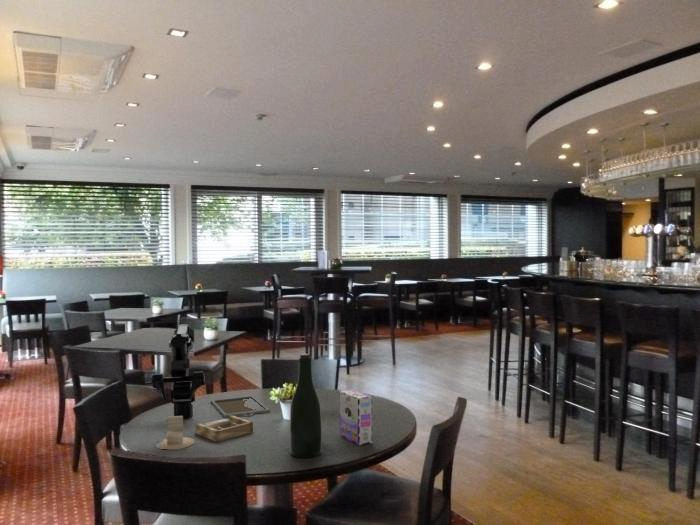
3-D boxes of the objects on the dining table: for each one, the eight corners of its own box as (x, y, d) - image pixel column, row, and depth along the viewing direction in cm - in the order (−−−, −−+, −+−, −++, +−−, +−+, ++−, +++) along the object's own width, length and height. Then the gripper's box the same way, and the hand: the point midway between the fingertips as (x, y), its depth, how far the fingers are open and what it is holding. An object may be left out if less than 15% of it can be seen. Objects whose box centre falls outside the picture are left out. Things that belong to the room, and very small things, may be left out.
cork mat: (148, 449, 195) (148, 448, 195) (165, 437, 208) (165, 436, 208) (185, 450, 194) (185, 449, 194) (199, 438, 207) (199, 437, 207)
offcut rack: (195, 433, 213) (195, 423, 213) (231, 424, 224) (231, 415, 224) (216, 441, 203) (216, 431, 203) (252, 431, 214) (252, 422, 214)
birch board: (168, 442, 202) (167, 416, 202) (182, 441, 203) (182, 415, 203) (167, 444, 199) (167, 418, 199) (182, 443, 200) (182, 418, 200)
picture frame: (252, 395, 266) (272, 411, 239) (252, 398, 266) (272, 415, 239) (210, 400, 258) (226, 416, 230) (210, 403, 258) (226, 420, 230)
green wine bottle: (293, 460, 184) (292, 357, 184) (287, 449, 194) (286, 352, 194) (325, 456, 187) (324, 355, 187) (317, 446, 197) (317, 350, 197)
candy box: (372, 443, 200) (372, 396, 200) (358, 446, 197) (358, 398, 197) (353, 432, 212) (352, 388, 212) (339, 435, 209) (338, 390, 209)
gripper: (151, 352, 211) (147, 389, 201) (203, 349, 215) (203, 386, 204) (154, 369, 219) (151, 406, 209) (205, 366, 223) (204, 402, 212)
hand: (177, 399), depth 208 cm, fingers open, 9 cm apart
